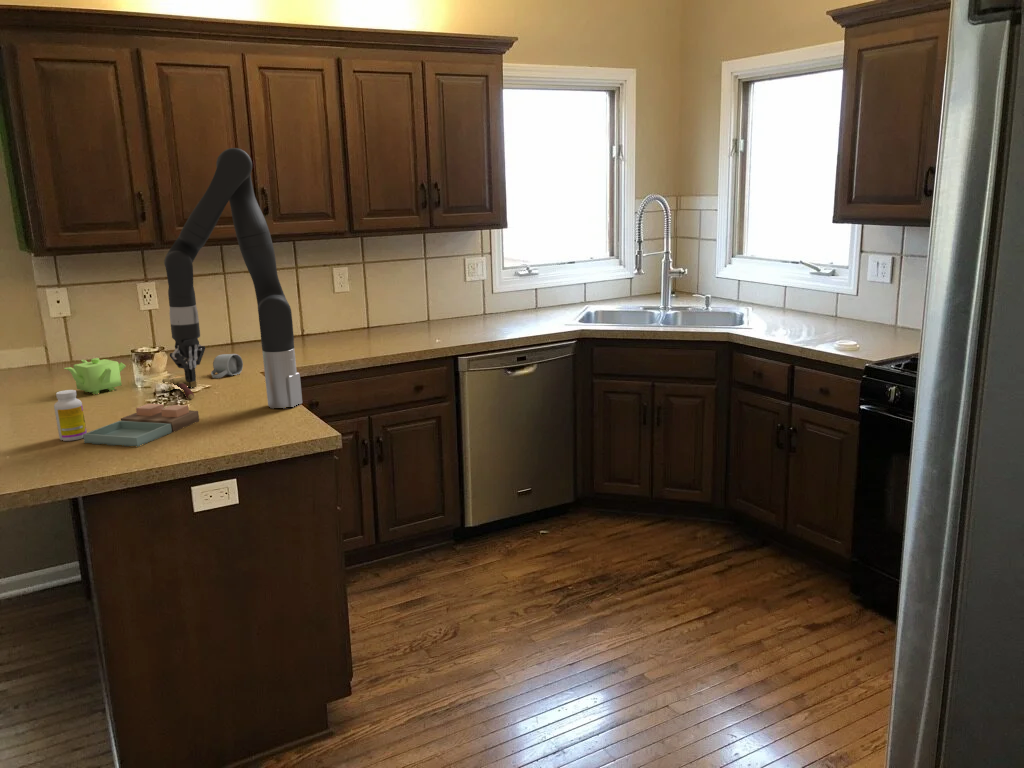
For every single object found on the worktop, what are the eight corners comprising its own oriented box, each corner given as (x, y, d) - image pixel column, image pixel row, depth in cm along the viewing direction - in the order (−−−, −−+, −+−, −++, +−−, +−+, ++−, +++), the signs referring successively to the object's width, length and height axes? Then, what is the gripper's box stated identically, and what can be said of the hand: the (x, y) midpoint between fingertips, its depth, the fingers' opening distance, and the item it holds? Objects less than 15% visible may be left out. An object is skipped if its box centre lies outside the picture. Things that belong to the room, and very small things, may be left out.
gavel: (207, 388, 258) (174, 393, 253) (209, 402, 260) (175, 407, 254) (192, 373, 275) (161, 377, 270) (194, 386, 277) (163, 390, 271)
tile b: (163, 411, 232) (162, 404, 231) (151, 415, 227) (150, 408, 227) (149, 410, 233) (148, 403, 233) (136, 414, 229) (135, 408, 228)
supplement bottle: (91, 437, 219) (84, 391, 216) (65, 443, 214) (57, 396, 211) (81, 433, 224) (74, 387, 221) (55, 438, 219) (47, 392, 216)
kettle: (68, 398, 265) (62, 364, 262) (82, 388, 278) (77, 356, 276) (117, 394, 267) (112, 361, 265) (129, 385, 281) (124, 353, 278)
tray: (172, 432, 221) (170, 423, 220) (137, 447, 209) (136, 437, 208) (120, 429, 226) (119, 420, 225) (84, 443, 214) (82, 434, 213)
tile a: (189, 412, 229) (188, 405, 229) (177, 417, 225) (176, 410, 224) (174, 411, 231) (173, 404, 230) (162, 416, 226) (161, 409, 226)
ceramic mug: (227, 371, 297) (224, 351, 295) (244, 372, 294) (242, 352, 292) (205, 378, 288) (202, 357, 286) (223, 379, 284) (220, 358, 283)
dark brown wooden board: (199, 421, 232) (198, 410, 231) (173, 432, 221) (171, 421, 221) (149, 418, 236) (148, 408, 236) (122, 428, 226) (120, 418, 226)
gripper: (180, 325, 223) (186, 387, 227) (210, 318, 235) (216, 377, 239) (157, 324, 225) (164, 385, 229) (188, 318, 237) (195, 376, 241)
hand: (191, 381), depth 234 cm, fingers closed
